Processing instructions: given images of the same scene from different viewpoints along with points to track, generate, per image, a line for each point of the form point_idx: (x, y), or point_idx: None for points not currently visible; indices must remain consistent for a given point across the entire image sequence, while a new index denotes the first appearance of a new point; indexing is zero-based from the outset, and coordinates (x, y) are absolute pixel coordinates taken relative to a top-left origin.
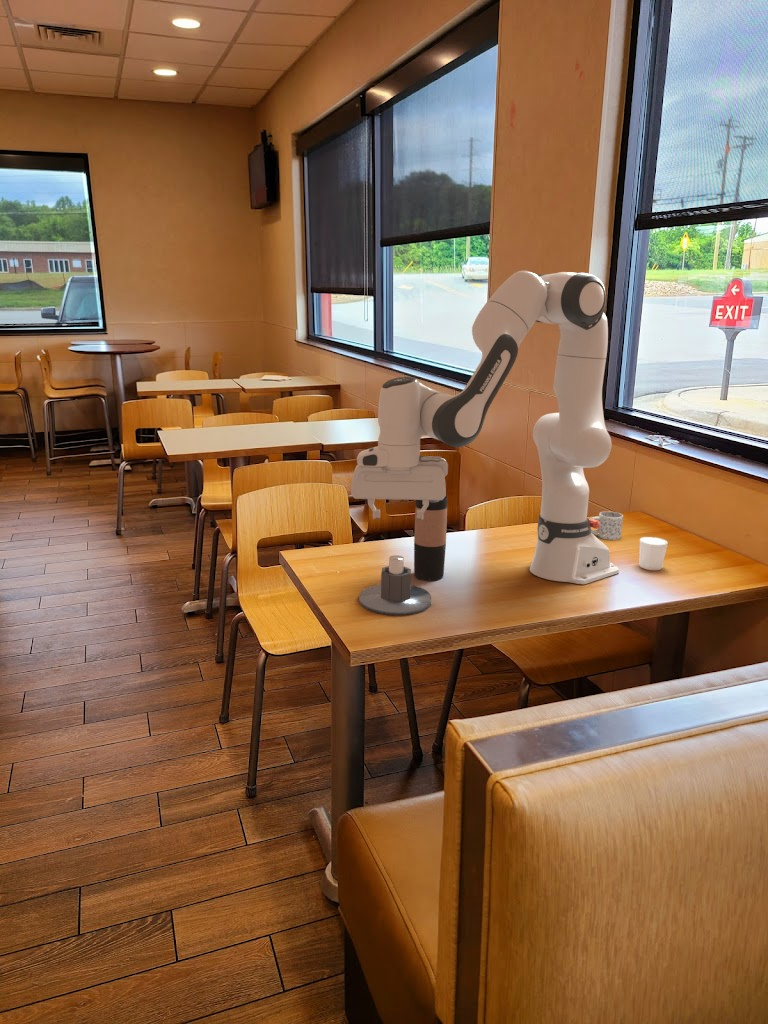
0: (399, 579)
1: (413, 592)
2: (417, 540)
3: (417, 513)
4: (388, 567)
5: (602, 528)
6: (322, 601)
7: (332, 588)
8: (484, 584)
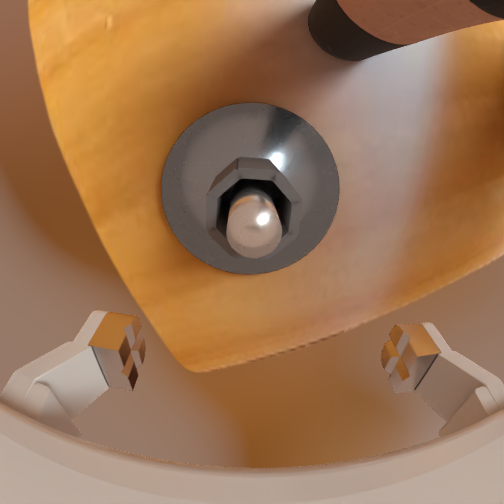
0: None
1: (298, 168)
2: (348, 4)
3: (394, 387)
4: (227, 188)
5: None
6: (93, 205)
7: (99, 126)
8: (451, 103)
